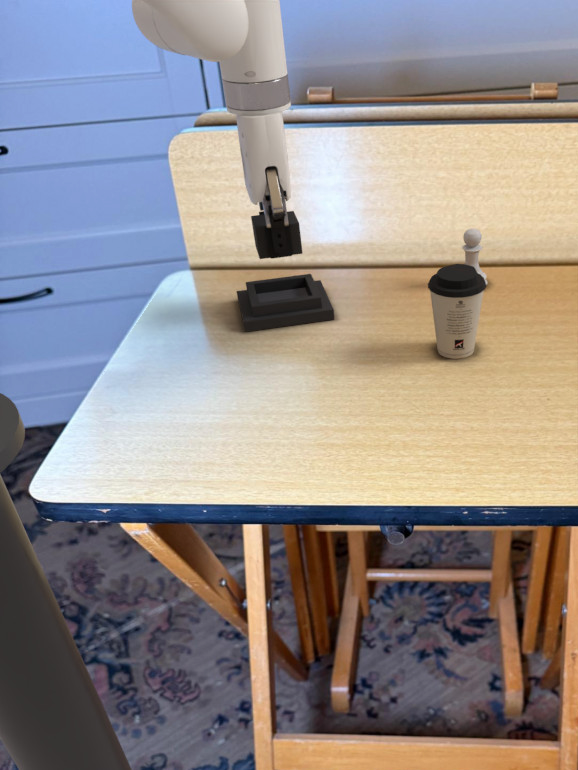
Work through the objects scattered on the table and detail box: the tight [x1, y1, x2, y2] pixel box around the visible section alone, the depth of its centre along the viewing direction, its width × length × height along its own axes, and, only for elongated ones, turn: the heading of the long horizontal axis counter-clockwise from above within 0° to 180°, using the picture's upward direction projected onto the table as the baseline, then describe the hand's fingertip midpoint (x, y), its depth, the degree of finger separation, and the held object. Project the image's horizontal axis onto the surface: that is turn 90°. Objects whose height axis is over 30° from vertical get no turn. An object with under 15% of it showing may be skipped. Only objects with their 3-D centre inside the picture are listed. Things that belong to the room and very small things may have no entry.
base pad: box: [236, 273, 335, 333], centre depth 109 cm, size 12×10×3 cm
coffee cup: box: [427, 263, 487, 360], centre depth 97 cm, size 7×7×10 cm
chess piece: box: [461, 228, 488, 286], centre depth 112 cm, size 5×5×8 cm
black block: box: [250, 210, 303, 260], centre depth 103 cm, size 6×5×4 cm
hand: (278, 247), depth 104 cm, fingers closed on black block, 4 cm apart
